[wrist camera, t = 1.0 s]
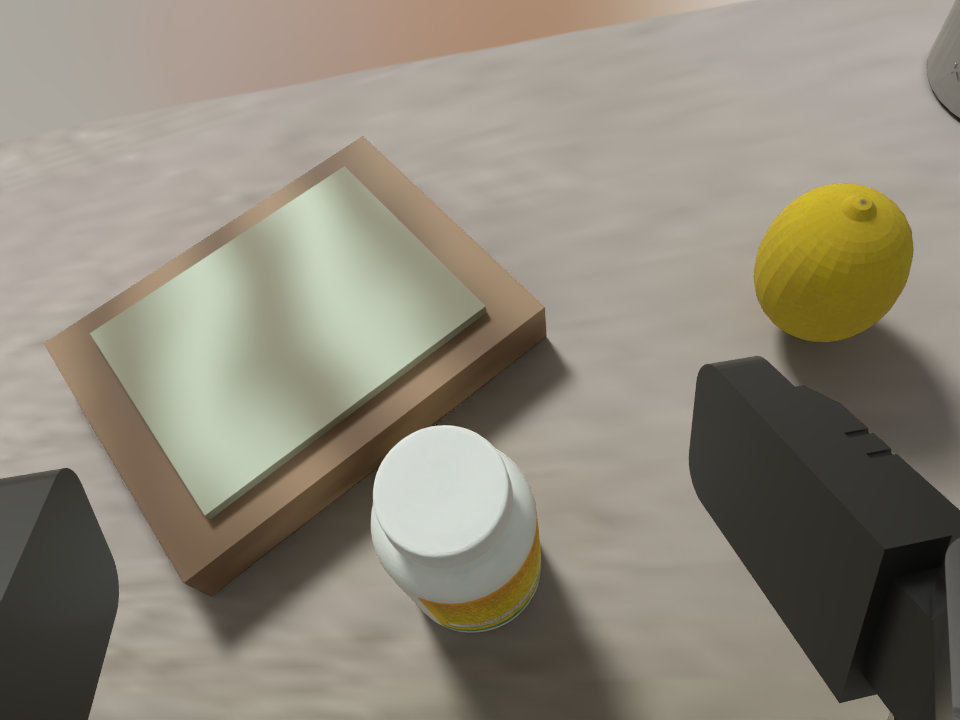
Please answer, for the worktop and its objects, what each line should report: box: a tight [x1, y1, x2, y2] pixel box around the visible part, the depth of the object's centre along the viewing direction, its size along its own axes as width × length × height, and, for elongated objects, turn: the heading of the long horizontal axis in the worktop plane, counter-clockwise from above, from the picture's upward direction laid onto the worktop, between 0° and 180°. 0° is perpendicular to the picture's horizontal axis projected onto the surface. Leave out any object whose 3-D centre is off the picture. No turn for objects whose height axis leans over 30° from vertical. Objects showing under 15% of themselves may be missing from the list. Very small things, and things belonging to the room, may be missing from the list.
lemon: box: [754, 183, 913, 342], centre depth 30 cm, size 6×6×8 cm
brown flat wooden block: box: [44, 136, 546, 596], centre depth 34 cm, size 18×14×3 cm
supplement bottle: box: [371, 425, 541, 632], centre depth 26 cm, size 5×5×10 cm
